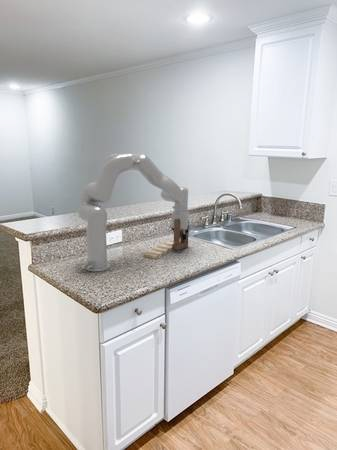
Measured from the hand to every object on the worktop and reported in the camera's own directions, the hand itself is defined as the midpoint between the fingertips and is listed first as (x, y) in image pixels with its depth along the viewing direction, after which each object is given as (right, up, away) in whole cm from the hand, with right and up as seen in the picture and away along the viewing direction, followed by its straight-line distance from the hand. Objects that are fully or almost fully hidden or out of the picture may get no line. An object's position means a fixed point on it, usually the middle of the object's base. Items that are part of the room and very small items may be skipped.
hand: (180, 239), depth 202 cm
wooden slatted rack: (-10, -7, -2) cm, 12 cm away
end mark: (0, -6, +2) cm, 6 cm away
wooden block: (0, -6, +2) cm, 6 cm away
